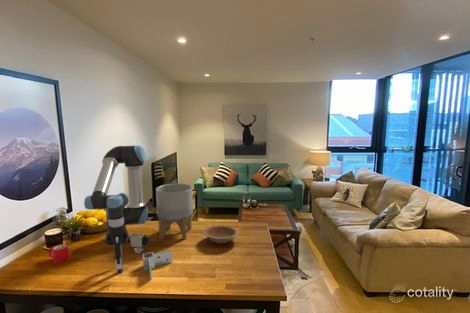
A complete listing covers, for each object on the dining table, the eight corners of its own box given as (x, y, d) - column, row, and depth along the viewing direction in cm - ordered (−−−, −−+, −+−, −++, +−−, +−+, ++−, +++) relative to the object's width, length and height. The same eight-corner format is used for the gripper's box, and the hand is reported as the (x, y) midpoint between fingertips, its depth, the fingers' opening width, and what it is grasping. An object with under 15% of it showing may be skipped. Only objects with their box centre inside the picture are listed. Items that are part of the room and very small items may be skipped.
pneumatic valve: (145, 255, 160) (144, 236, 158) (128, 253, 162) (127, 234, 160) (150, 250, 165) (149, 232, 163) (133, 248, 167) (132, 231, 166)
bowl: (245, 243, 174) (245, 232, 173) (214, 253, 161) (214, 241, 160) (226, 230, 194) (226, 220, 192) (197, 239, 180) (197, 228, 179)
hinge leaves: (143, 265, 149) (142, 253, 147) (171, 259, 155) (170, 248, 154) (145, 281, 134) (144, 268, 133) (176, 274, 140) (175, 262, 139)
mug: (53, 255, 160) (52, 243, 159) (72, 256, 159) (71, 243, 158) (43, 262, 152) (42, 249, 151) (63, 263, 151) (61, 250, 150)
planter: (181, 223, 207) (180, 181, 201) (200, 234, 188) (199, 188, 183) (152, 233, 190) (149, 187, 185) (168, 245, 172) (166, 195, 167)
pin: (116, 271, 143) (113, 241, 141) (123, 269, 145) (121, 240, 142) (115, 275, 140) (113, 245, 137) (123, 273, 141) (121, 243, 139)
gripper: (109, 217, 148) (112, 253, 151) (107, 235, 125) (110, 276, 129) (124, 215, 151) (126, 250, 154) (124, 233, 128) (127, 273, 131)
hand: (119, 262), depth 141 cm, fingers open, 12 cm apart
